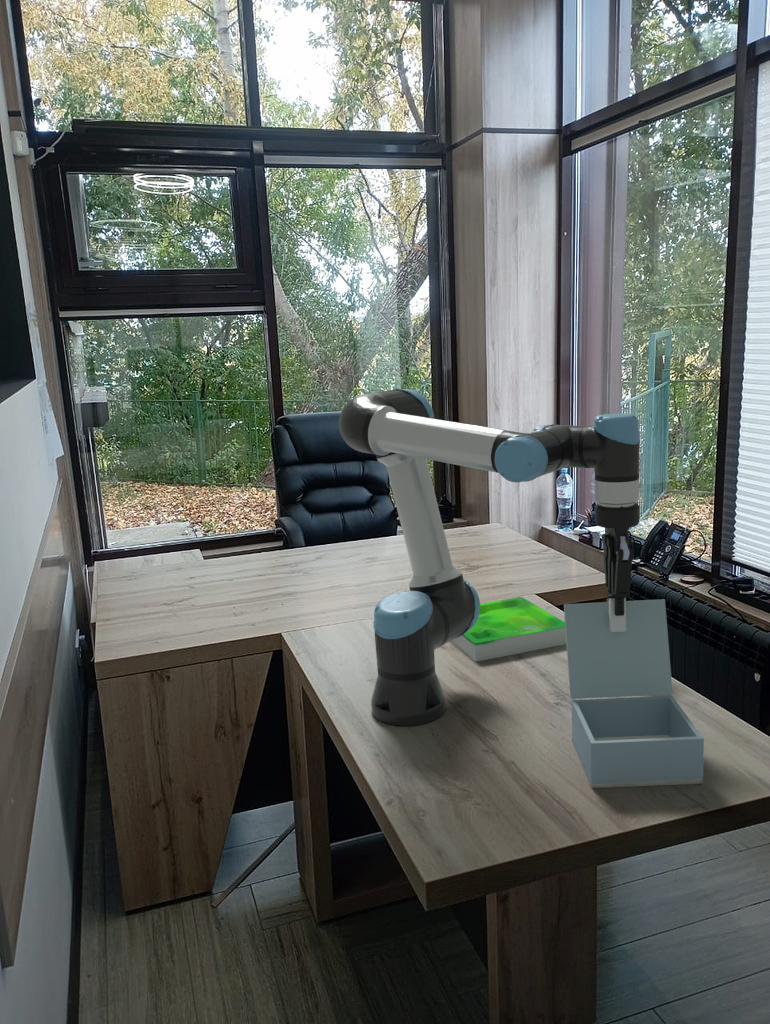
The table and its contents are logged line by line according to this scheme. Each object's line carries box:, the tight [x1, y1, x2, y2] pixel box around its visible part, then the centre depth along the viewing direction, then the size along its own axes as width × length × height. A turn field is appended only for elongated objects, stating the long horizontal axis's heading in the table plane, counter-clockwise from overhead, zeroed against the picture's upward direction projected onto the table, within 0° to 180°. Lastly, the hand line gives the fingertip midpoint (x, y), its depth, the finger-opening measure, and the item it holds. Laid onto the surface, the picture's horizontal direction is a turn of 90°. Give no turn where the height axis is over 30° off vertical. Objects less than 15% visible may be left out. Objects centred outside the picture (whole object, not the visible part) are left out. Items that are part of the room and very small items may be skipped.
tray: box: [450, 596, 567, 662], centre depth 202 cm, size 25×25×5 cm
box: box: [571, 695, 705, 789], centre depth 139 cm, size 18×16×8 cm
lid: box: [563, 598, 673, 700], centre depth 147 cm, size 18×17×1 cm
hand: (617, 630), depth 147 cm, fingers closed
